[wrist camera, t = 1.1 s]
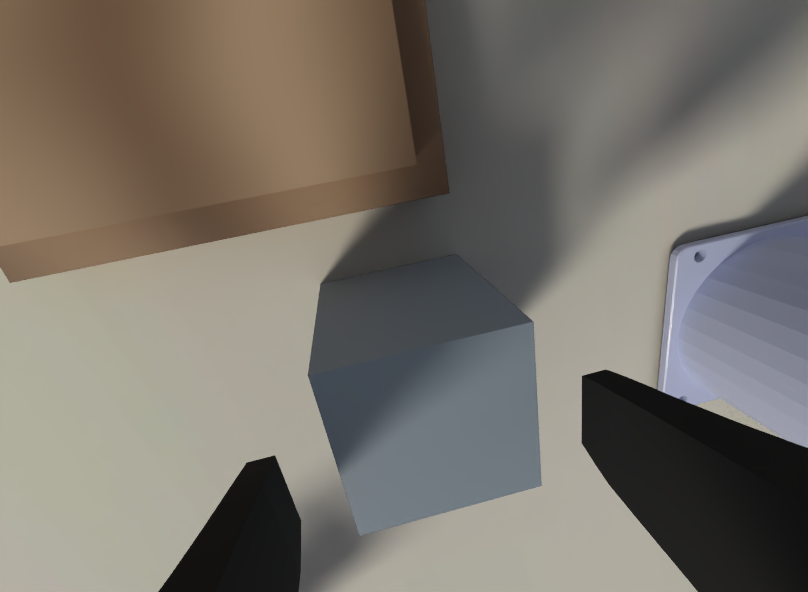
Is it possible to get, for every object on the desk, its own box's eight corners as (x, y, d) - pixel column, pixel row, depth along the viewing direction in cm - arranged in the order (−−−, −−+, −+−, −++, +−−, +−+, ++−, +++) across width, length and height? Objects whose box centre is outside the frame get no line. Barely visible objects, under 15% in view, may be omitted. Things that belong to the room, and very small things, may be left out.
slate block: (455, 253, 14) (533, 321, 8) (470, 368, 16) (541, 485, 10) (320, 283, 13) (307, 375, 8) (352, 397, 15) (359, 536, 10)
